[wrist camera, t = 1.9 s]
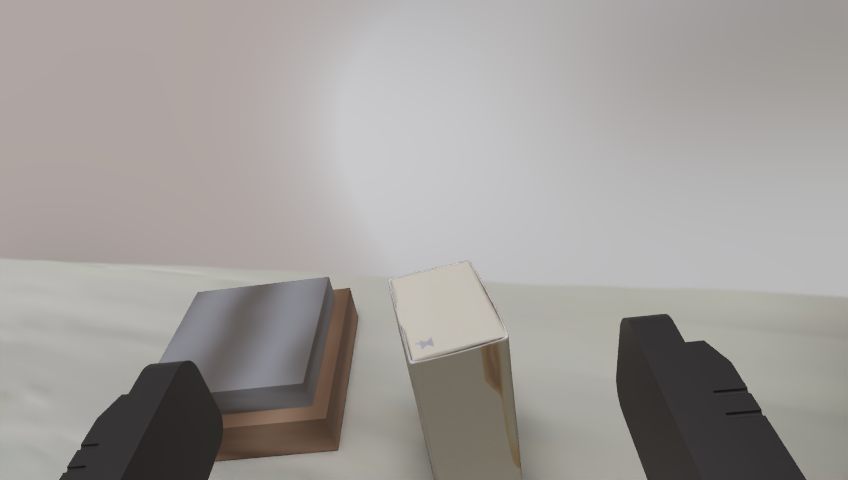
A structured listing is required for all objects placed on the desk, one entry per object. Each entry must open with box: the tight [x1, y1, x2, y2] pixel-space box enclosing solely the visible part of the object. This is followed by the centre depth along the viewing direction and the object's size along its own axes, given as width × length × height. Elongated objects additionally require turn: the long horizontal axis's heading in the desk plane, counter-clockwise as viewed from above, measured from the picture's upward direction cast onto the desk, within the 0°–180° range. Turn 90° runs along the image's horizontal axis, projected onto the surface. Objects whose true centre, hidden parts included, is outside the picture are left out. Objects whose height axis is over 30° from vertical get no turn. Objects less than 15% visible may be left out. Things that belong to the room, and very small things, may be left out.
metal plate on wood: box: [159, 277, 358, 461], centre depth 37 cm, size 12×12×5 cm
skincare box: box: [388, 260, 522, 480], centre depth 27 cm, size 6×4×12 cm
